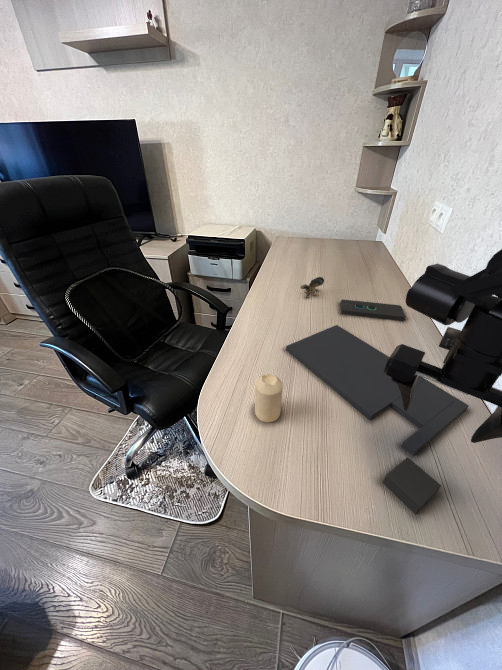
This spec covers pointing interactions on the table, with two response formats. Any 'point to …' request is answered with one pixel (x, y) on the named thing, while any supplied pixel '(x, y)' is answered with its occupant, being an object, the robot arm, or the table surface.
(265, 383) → the candle
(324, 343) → the mat
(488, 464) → the table surface
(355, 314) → the smart home device
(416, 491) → the black block
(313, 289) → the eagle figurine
